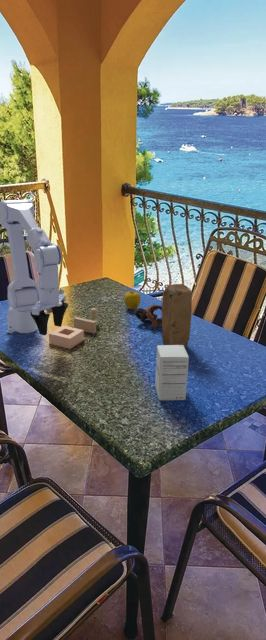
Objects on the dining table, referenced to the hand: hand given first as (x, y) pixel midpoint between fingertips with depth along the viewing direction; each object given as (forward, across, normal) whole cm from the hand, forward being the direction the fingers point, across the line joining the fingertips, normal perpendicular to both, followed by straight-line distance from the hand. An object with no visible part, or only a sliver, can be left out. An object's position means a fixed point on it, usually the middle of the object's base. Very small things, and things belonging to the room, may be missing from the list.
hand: (50, 330), depth 138 cm
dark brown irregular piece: (+9, +39, -16) cm, 43 cm away
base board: (+8, +13, 0) cm, 15 cm away
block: (+9, +26, -30) cm, 41 cm away
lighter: (+9, +35, +23) cm, 43 cm away
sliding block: (+7, +9, 0) cm, 11 cm away
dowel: (+8, +26, 0) cm, 27 cm away
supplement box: (+9, -4, -41) cm, 42 cm away
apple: (+9, +50, -3) cm, 51 cm away
